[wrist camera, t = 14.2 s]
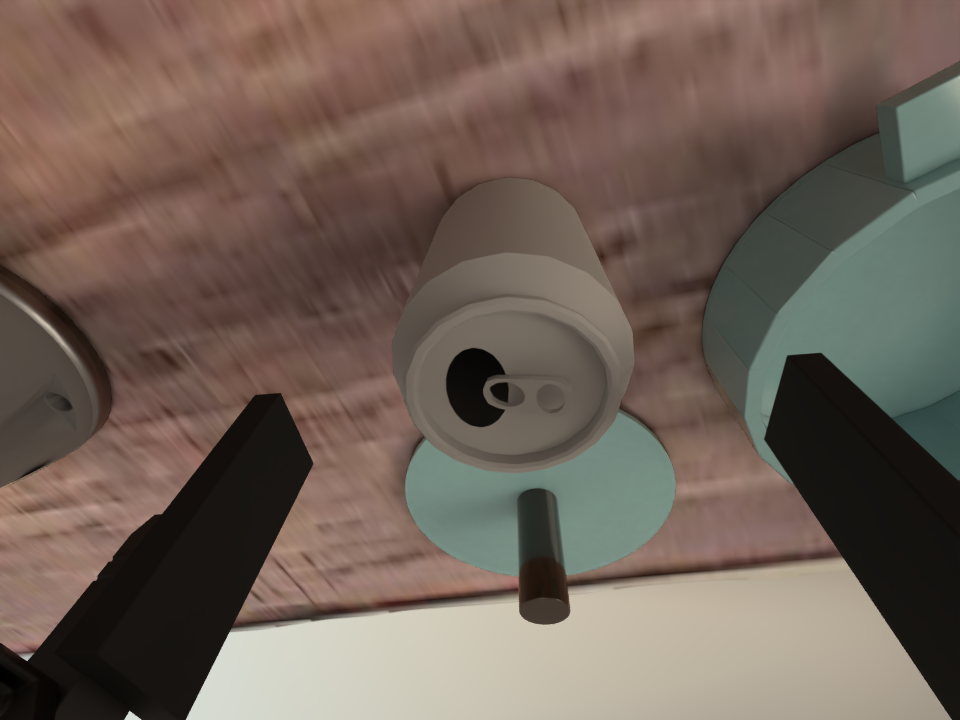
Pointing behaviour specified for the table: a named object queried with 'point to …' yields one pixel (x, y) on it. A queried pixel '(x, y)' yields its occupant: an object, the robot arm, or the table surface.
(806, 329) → the pan
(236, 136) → the table surface
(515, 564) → the pan lid
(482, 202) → the can
